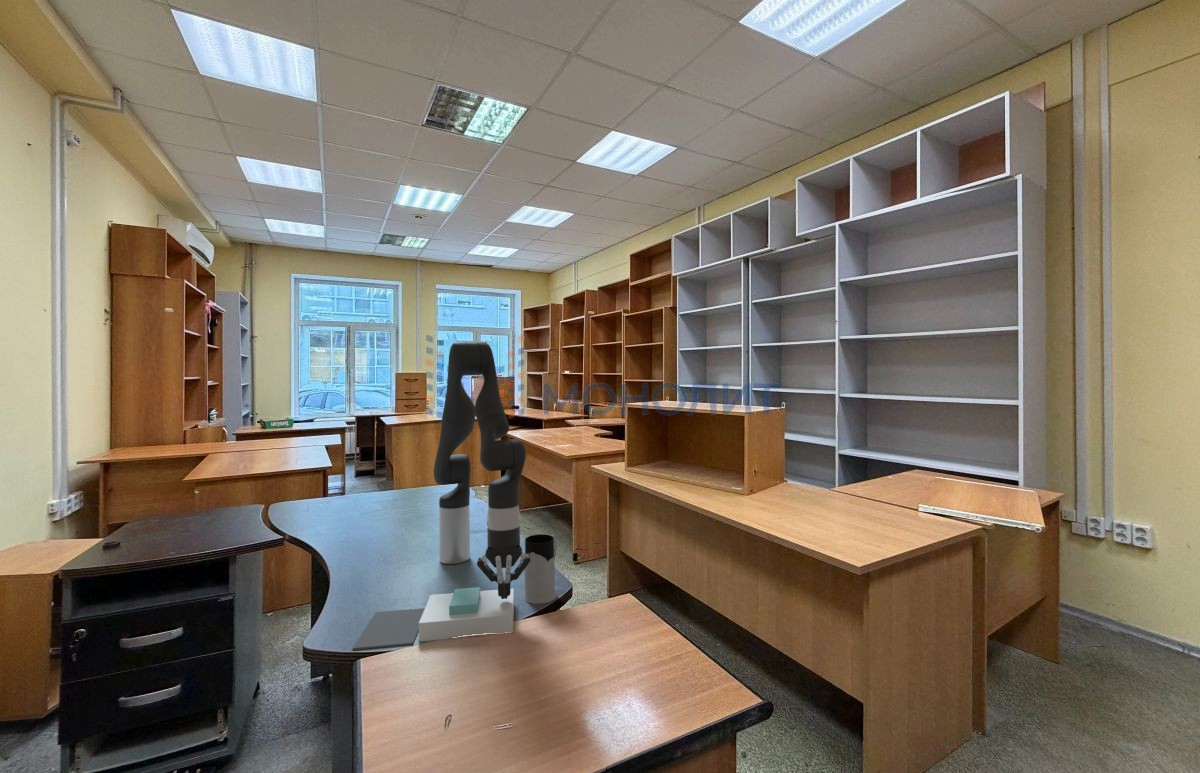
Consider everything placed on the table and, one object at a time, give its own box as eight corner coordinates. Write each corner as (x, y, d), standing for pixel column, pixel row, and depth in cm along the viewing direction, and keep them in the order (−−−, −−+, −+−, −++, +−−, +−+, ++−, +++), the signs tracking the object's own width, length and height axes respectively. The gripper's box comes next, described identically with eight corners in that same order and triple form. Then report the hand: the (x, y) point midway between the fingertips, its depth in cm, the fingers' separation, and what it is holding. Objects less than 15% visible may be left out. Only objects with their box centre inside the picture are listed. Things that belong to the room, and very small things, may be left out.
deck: (430, 611, 116) (430, 594, 116) (513, 604, 119) (513, 588, 119) (418, 641, 102) (418, 623, 102) (512, 632, 105) (512, 615, 105)
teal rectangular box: (454, 597, 114) (454, 589, 114) (480, 595, 115) (480, 587, 115) (449, 615, 105) (449, 606, 105) (476, 612, 106) (476, 603, 106)
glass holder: (516, 600, 121) (516, 542, 121) (542, 579, 134) (541, 526, 134) (547, 605, 118) (547, 546, 118) (570, 583, 131) (570, 529, 131)
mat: (375, 613, 115) (375, 612, 115) (427, 609, 117) (427, 607, 117) (352, 650, 99) (352, 648, 99) (412, 644, 101) (412, 642, 101)
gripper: (531, 518, 117) (532, 588, 117) (476, 521, 114) (476, 592, 114) (532, 527, 109) (532, 602, 109) (473, 530, 107) (473, 607, 107)
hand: (504, 597), depth 112 cm, fingers closed
